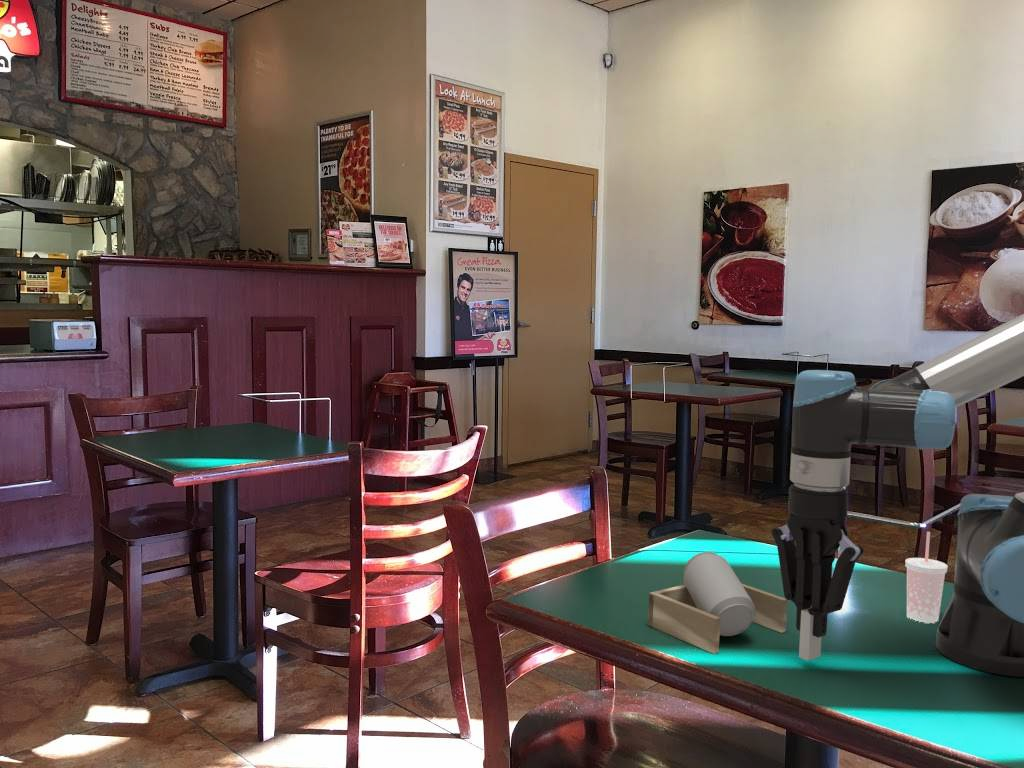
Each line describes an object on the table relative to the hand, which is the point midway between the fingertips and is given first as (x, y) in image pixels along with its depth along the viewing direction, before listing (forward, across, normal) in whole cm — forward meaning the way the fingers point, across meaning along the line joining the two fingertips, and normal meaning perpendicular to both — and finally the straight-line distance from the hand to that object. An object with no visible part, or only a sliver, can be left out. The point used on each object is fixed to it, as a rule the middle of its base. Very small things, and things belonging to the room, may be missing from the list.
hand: (809, 656), depth 119 cm
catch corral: (+1, -16, 0) cm, 16 cm away
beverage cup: (+2, -2, +32) cm, 32 cm away
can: (-2, -10, -3) cm, 11 cm away
